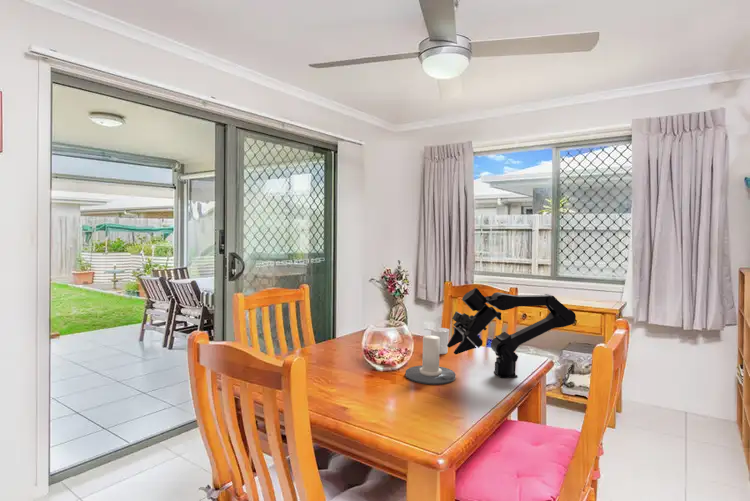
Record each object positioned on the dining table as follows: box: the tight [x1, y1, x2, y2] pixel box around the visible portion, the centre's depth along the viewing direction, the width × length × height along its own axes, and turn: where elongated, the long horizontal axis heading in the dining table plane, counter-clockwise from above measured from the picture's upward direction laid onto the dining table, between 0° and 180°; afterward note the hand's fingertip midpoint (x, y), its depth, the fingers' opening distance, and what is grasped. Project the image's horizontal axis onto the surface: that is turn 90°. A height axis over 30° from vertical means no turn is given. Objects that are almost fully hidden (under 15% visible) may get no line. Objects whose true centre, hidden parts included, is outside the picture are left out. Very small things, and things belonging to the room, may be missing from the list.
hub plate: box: [405, 365, 457, 386], centre depth 162 cm, size 18×18×1 cm
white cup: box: [430, 327, 450, 355], centre depth 194 cm, size 8×8×10 cm
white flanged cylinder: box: [420, 335, 442, 377], centre depth 161 cm, size 8×8×13 cm
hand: (451, 350), depth 162 cm, fingers open, 9 cm apart
